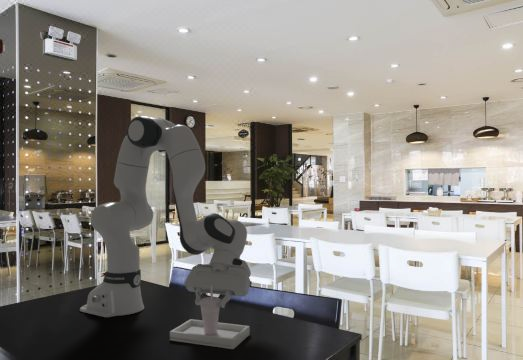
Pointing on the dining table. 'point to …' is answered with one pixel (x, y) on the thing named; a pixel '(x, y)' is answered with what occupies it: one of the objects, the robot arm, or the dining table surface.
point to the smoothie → (210, 313)
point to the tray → (223, 338)
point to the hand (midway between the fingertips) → (209, 305)
